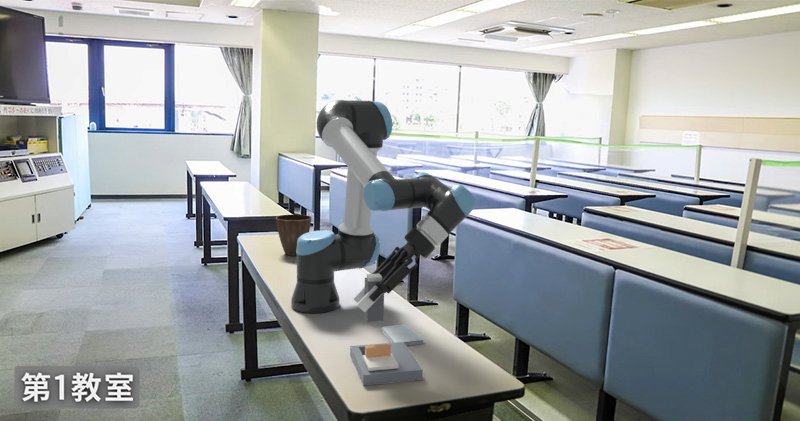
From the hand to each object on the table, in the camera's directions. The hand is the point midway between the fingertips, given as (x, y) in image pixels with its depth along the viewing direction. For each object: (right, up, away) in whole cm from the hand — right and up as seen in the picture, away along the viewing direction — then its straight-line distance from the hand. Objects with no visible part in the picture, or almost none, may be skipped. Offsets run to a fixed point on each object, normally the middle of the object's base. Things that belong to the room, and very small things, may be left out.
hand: (358, 305), depth 143 cm
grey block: (+4, -4, +2) cm, 5 cm away
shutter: (+5, -13, -5) cm, 15 cm away
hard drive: (+11, -13, +19) cm, 26 cm away
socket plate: (+6, -15, 0) cm, 16 cm away
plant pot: (-35, +4, +108) cm, 114 cm away
